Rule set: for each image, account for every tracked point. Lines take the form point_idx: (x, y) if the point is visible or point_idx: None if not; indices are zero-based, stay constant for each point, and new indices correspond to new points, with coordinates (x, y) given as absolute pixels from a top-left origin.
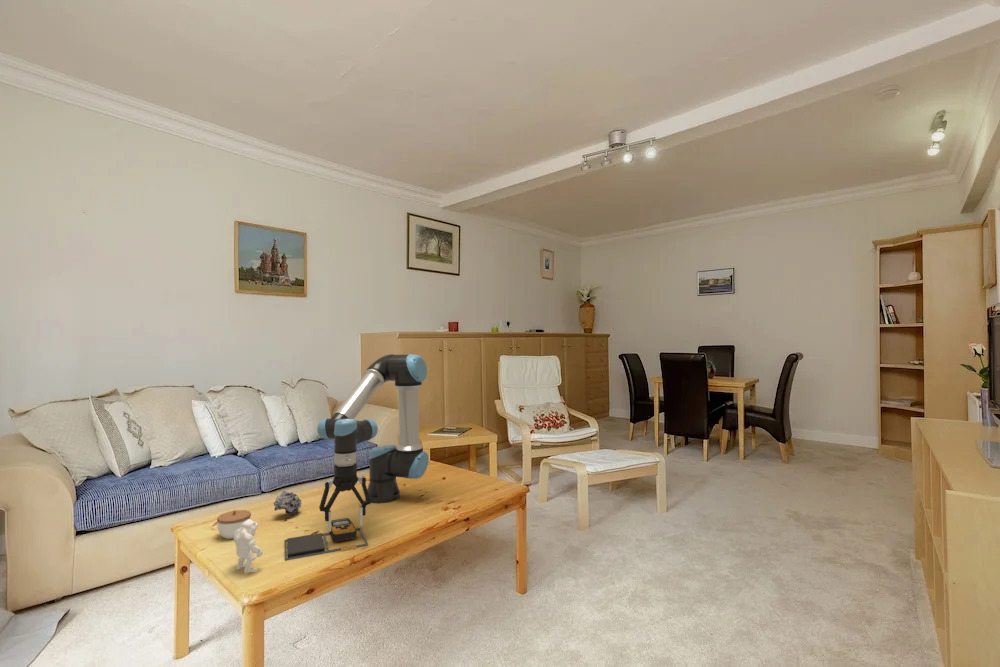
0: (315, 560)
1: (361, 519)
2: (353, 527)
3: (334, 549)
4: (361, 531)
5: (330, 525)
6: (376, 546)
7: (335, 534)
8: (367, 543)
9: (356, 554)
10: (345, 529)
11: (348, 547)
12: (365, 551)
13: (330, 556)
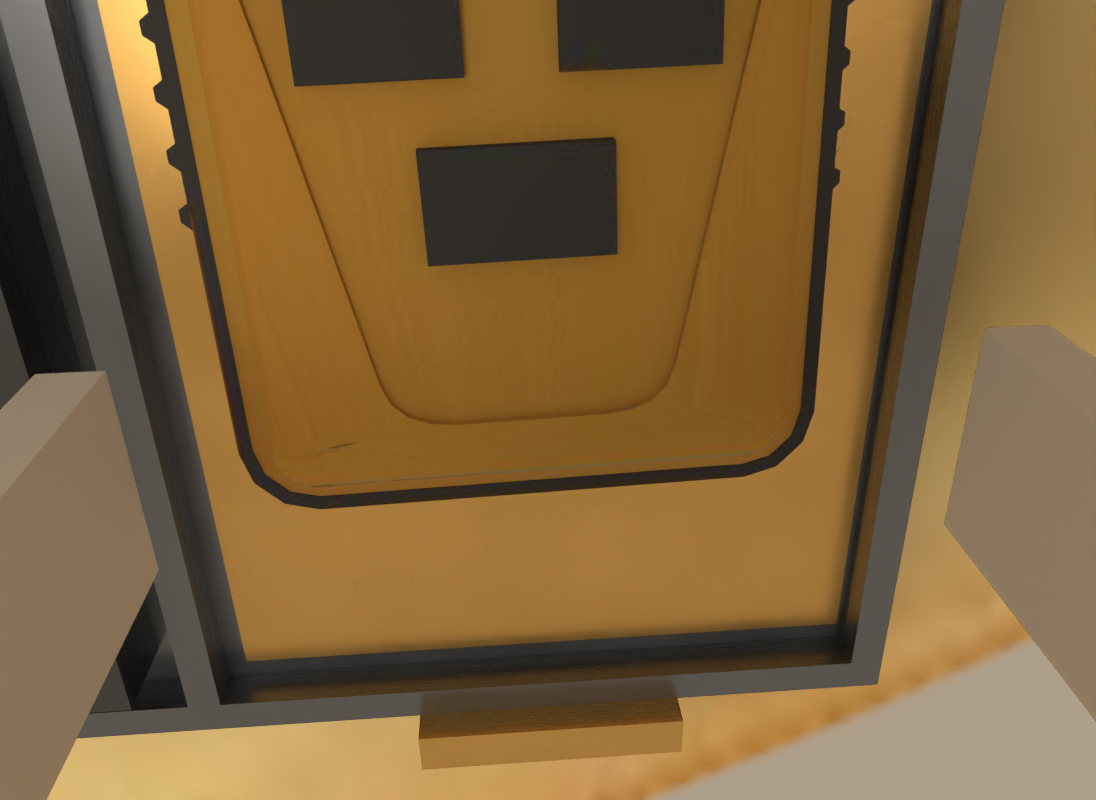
0: (55, 783)
1: (1078, 650)
2: (793, 229)
3: (317, 708)
4: (966, 45)
5: (79, 691)
6: (979, 645)
7: (297, 489)
8: (872, 668)
9: (642, 780)
10: (561, 301)
11: (547, 748)
12: (780, 738)
13: (270, 736)
